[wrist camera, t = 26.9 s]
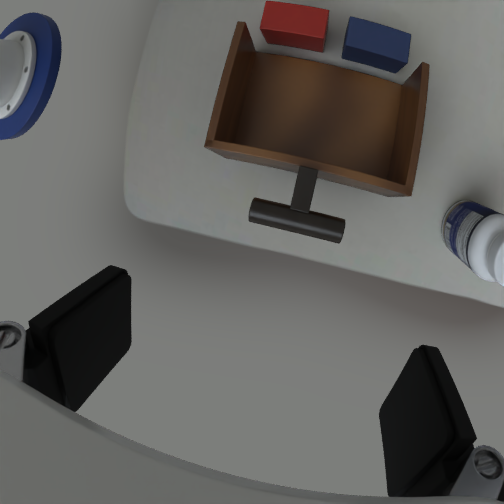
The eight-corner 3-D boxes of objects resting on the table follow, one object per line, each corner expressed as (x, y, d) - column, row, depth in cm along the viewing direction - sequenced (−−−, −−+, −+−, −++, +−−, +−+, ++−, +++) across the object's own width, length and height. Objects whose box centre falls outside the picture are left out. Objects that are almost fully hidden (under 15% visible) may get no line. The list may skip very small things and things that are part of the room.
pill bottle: (493, 219, 24) (549, 250, 15) (466, 263, 26) (513, 308, 17) (458, 188, 24) (513, 209, 15) (430, 235, 26) (473, 275, 17)
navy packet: (345, 45, 19) (350, 15, 18) (341, 58, 23) (345, 32, 22) (407, 63, 19) (411, 34, 18) (395, 74, 23) (399, 47, 22)
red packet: (259, 28, 20) (265, 0, 19) (266, 43, 24) (272, 17, 23) (324, 38, 20) (329, 9, 19) (323, 53, 23) (327, 26, 22)
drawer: (214, 206, 27) (187, 208, 20) (250, 53, 24) (235, 16, 18) (376, 245, 25) (398, 260, 19) (406, 89, 23) (432, 61, 16)
